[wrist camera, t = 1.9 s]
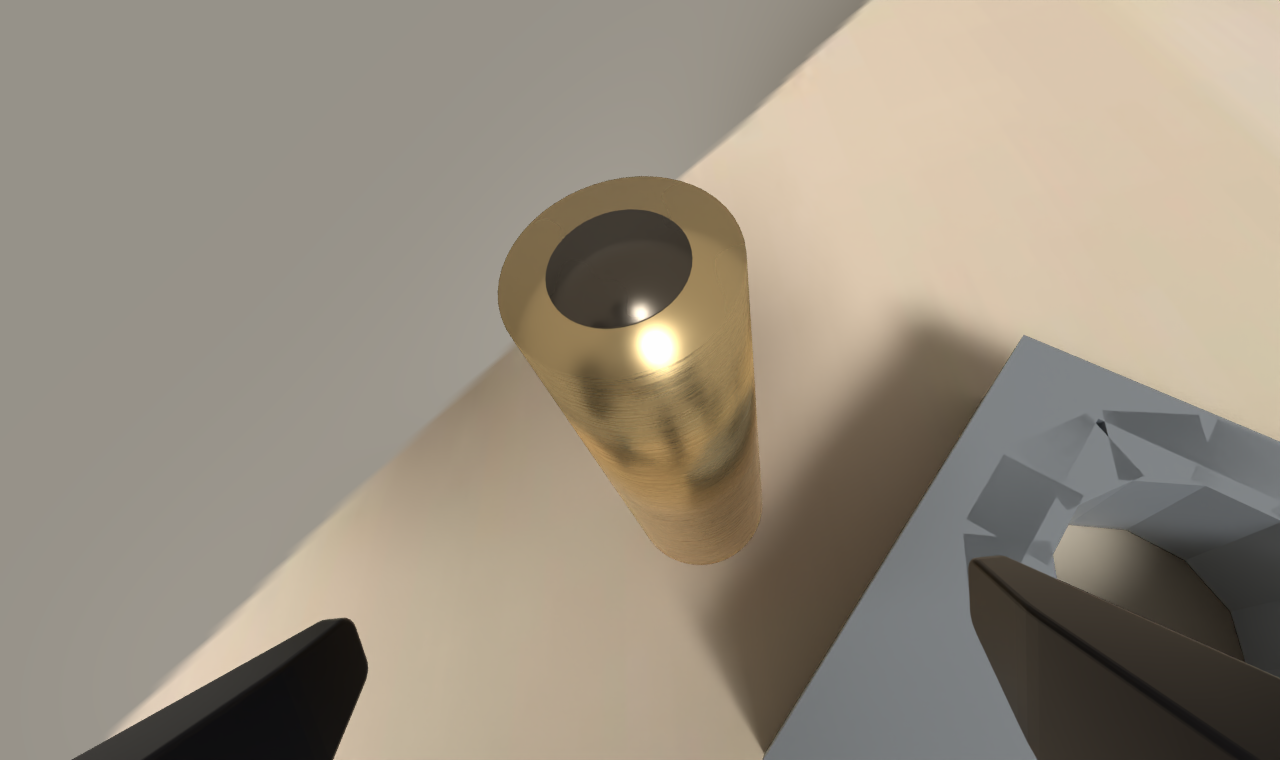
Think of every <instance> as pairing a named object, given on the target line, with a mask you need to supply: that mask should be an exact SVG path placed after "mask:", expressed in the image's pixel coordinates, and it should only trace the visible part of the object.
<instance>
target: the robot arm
mask: <svg viewBox="0 0 1280 760" xmlns="http://www.w3.org/2000/svg"><path fill="white" fill-rule="evenodd" d="M968 578H969V601H970V615H971V620H972V624H973V627H974V629H975V632H976V634H977V636H978V638H979V641H980V643H981V645H982V647H983V649H984V651H985V653H986V656H987V658H988V660H989V662H990V664H991V666H992V668H993V671H994V673H995V675H996V677H997V679H998V681H999V683H1000V686H1001V688H1002V690H1003V692H1004V694H1005V696H1006V699H1007V701H1008V703H1009V705H1010V707H1011V709H1012V711H1013V714H1014V716H1015V718H1016V720H1017V722H1018V724H1019V726H1020V728H1021V730H1022V732H1023V734H1024V736H1025V738H1026V740H1027V743H1028V744H1029V746H1030V748H1031V750H1032V751H1033V753H1034V755H1035V757H1036V759H1037V760H1280V678H1279V677H1277V676H1274V675H1272V674H1270V673H1268V672H1265V671H1263V670H1261V669H1259V668H1256V667H1254V666H1252V665H1250V664H1247V663H1245V662H1243V661H1241V660H1238V659H1236V658H1234V657H1232V656H1229V655H1227V654H1225V653H1223V652H1220V651H1218V650H1216V649H1214V648H1211V647H1209V646H1207V645H1205V644H1202V643H1200V642H1198V641H1196V640H1193V639H1191V638H1189V637H1187V636H1184V635H1182V634H1180V633H1178V632H1175V631H1173V630H1171V629H1169V628H1166V627H1164V626H1162V625H1160V624H1157V623H1155V622H1153V621H1151V620H1148V619H1146V618H1144V617H1142V616H1139V615H1137V614H1135V613H1133V612H1130V611H1128V610H1126V609H1124V608H1121V607H1119V606H1117V605H1115V604H1112V603H1110V602H1108V601H1106V600H1103V599H1101V598H1099V597H1097V596H1094V595H1092V594H1090V593H1088V592H1085V591H1083V590H1081V589H1079V588H1076V587H1074V586H1072V585H1070V584H1067V583H1065V582H1063V581H1061V580H1058V579H1056V578H1054V577H1052V576H1049V575H1047V574H1045V573H1043V572H1040V571H1038V570H1036V569H1034V568H1031V567H1029V566H1027V565H1025V564H1022V563H1020V562H1018V561H1016V560H1013V559H1011V558H1009V557H1006V556H1002V555H996V556H986V557H977V558H973V559H972V560H971V561H970V562H969V566H968ZM367 673H368V662H367V659H366V656H365V653H364V650H363V647H362V644H361V641H360V638H359V635H358V632H357V629H356V627H355V624H354V623H353V622H352V621H351V620H350V619H348V618H337V619H327V620H322V621H320V622H318V623H316V624H314V625H312V626H311V627H309V628H307V629H305V630H304V631H302V632H300V633H298V634H296V635H295V636H293V637H291V638H289V639H287V640H286V641H284V642H282V643H280V644H278V645H277V646H275V647H273V648H271V649H269V650H268V651H266V652H264V653H262V654H260V655H259V656H257V657H255V658H253V659H251V660H250V661H248V662H246V663H244V664H243V665H241V666H239V667H237V668H235V669H234V670H232V671H230V672H228V673H226V674H225V675H223V676H221V677H219V678H217V679H216V680H214V681H212V682H210V683H208V684H207V685H205V686H203V687H201V688H199V689H198V690H196V691H194V692H192V693H190V694H189V695H187V696H185V697H183V698H181V699H180V700H178V701H176V702H174V703H173V704H171V705H169V706H167V707H165V708H164V709H162V710H160V711H158V712H156V713H155V714H153V715H151V716H149V717H147V718H146V719H144V720H142V721H140V722H138V723H137V724H135V725H133V726H131V727H129V728H128V729H126V730H124V731H122V732H120V733H119V734H117V735H115V736H113V737H112V738H110V739H108V740H106V741H104V742H103V743H101V744H99V745H97V746H95V747H94V748H92V749H90V750H88V751H86V752H85V753H83V754H81V755H79V756H77V757H76V758H74V759H72V760H333V759H334V756H335V754H336V751H337V749H338V747H339V744H340V742H341V739H342V737H343V734H344V732H345V730H346V727H347V725H348V722H349V720H350V717H351V715H352V713H353V710H354V708H355V705H356V703H357V701H358V698H359V696H360V693H361V691H362V688H363V686H364V684H365V681H366V678H367Z"/></svg>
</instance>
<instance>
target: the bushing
mask: <svg viewBox="0 0 1280 760" xmlns="http://www.w3.org/2000/svg"><path fill="white" fill-rule="evenodd" d="M498 304H499V310H500V314H501V318H502V320H503V323H504V325H505V327H506V329H507V331H508V332H509V334H510V336H511V337H512V339H513V340H514V342H515V343H516V345H517V346H518V348H519V349H520V351H521V352H522V354H523V355H524V356H525V358H526V359H527V361H528V362H529V364H530V365H531V367H532V368H533V370H534V371H535V372H536V374H537V375H538V377H539V378H540V380H541V381H542V383H543V384H544V386H545V387H546V388H547V390H548V391H549V393H550V394H551V396H552V397H553V399H554V400H555V402H556V403H557V404H558V406H559V407H560V409H561V410H562V412H563V413H564V415H565V416H566V418H567V419H568V420H569V422H570V423H571V425H572V426H573V428H574V429H575V431H576V432H577V434H578V435H579V437H580V438H581V439H582V441H583V442H584V444H585V445H586V447H587V448H588V450H589V451H590V453H591V454H592V455H593V457H594V458H595V460H596V461H597V463H598V464H599V466H600V467H601V469H602V470H603V471H604V473H605V474H606V476H607V477H608V479H609V480H610V482H611V483H612V485H613V486H614V487H615V489H616V490H617V492H618V493H619V495H620V496H621V498H622V499H623V501H624V502H625V504H626V505H627V506H628V508H629V509H630V511H631V512H632V514H633V515H634V517H635V518H636V520H637V521H638V522H639V524H640V525H641V527H642V528H643V530H644V531H645V533H646V534H647V536H648V537H649V538H650V540H651V541H652V542H653V544H654V545H655V546H656V547H657V548H658V549H659V550H660V551H662V552H663V553H664V554H666V555H667V556H669V557H671V558H673V559H675V560H677V561H680V562H683V563H687V564H693V565H706V564H713V563H717V562H720V561H723V560H725V559H727V558H729V557H731V556H733V555H735V554H736V553H737V552H739V551H740V550H741V549H742V548H743V547H744V546H745V545H746V544H747V543H748V542H749V541H750V539H751V538H752V536H753V535H754V533H755V531H756V529H757V527H758V524H759V521H760V518H761V512H762V493H761V478H760V462H759V446H758V430H757V414H756V398H755V383H754V367H753V351H752V335H751V319H750V303H749V287H748V272H747V256H746V248H745V242H744V238H743V235H742V232H741V230H740V227H739V225H738V224H737V222H736V220H735V218H734V217H733V215H732V214H731V213H730V212H729V210H728V209H727V208H726V207H725V206H724V205H723V204H722V203H721V202H720V201H718V200H717V199H716V198H715V197H713V196H712V195H710V194H709V193H707V192H706V191H704V190H702V189H700V188H698V187H696V186H693V185H691V184H688V183H685V182H682V181H678V180H673V179H668V178H662V177H647V176H645V177H644V176H643V177H642V176H641V177H640V176H639V177H626V178H619V179H614V180H609V181H605V182H601V183H598V184H594V185H592V186H589V187H586V188H584V189H581V190H579V191H577V192H575V193H573V194H570V195H568V196H566V197H565V198H563V199H561V200H560V201H558V202H557V203H555V204H553V205H552V206H550V207H549V208H548V209H546V210H545V211H544V212H542V213H541V214H540V215H539V216H538V217H537V218H536V219H534V220H533V221H532V222H531V223H530V224H529V226H528V227H527V228H526V229H525V230H524V231H523V232H522V233H521V235H520V236H519V237H518V239H517V240H516V241H515V243H514V244H513V246H512V248H511V250H510V251H509V253H508V255H507V257H506V260H505V262H504V265H503V267H502V271H501V274H500V279H499V286H498Z"/></svg>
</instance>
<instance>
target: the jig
mask: <svg viewBox="0 0 1280 760" xmlns="http://www.w3.org/2000/svg"><path fill="white" fill-rule="evenodd" d="M1068 525H1077V526H1088V527H1100V528H1111V529H1123V530H1127V531H1129V532H1131V533H1133V534H1135V535H1137V536H1139V537H1141V538H1143V539H1145V540H1147V541H1148V542H1150V543H1152V544H1154V545H1156V546H1158V547H1160V548H1162V549H1164V550H1166V551H1168V552H1170V553H1172V554H1174V555H1175V556H1177V557H1179V558H1181V559H1183V560H1185V561H1186V562H1187V563H1188V564H1189V566H1190V567H1191V568H1192V569H1193V570H1194V571H1195V572H1196V573H1197V575H1198V576H1199V577H1200V578H1201V579H1202V580H1203V581H1204V582H1205V584H1206V585H1207V586H1208V587H1209V588H1210V589H1211V590H1212V591H1213V593H1214V594H1215V595H1216V596H1217V597H1218V598H1219V599H1220V600H1221V602H1222V603H1223V604H1224V605H1225V606H1226V607H1227V608H1228V609H1229V611H1230V612H1231V615H1232V618H1233V622H1234V625H1235V628H1236V632H1237V635H1238V639H1239V642H1240V645H1241V649H1242V652H1243V656H1244V659H1245V663H1247V664H1250V665H1252V666H1254V667H1256V668H1259V669H1261V670H1263V671H1265V672H1268V673H1270V674H1272V675H1274V676H1277V677H1279V678H1280V442H1279V441H1277V440H1274V439H1272V438H1270V437H1267V436H1265V435H1262V434H1260V433H1258V432H1255V431H1253V430H1250V429H1248V428H1246V427H1243V426H1241V425H1238V424H1236V423H1234V422H1231V421H1229V420H1227V419H1224V418H1222V417H1219V416H1217V415H1215V414H1212V413H1210V412H1207V411H1205V410H1203V409H1200V408H1198V407H1195V406H1193V405H1191V404H1188V403H1186V402H1183V401H1181V400H1179V399H1176V398H1174V397H1171V396H1169V395H1167V394H1164V393H1162V392H1159V391H1157V390H1155V389H1152V388H1150V387H1147V386H1145V385H1143V384H1140V383H1138V382H1135V381H1133V380H1131V379H1128V378H1126V377H1124V376H1121V375H1119V374H1116V373H1114V372H1112V371H1109V370H1107V369H1104V368H1102V367H1100V366H1097V365H1095V364H1092V363H1090V362H1088V361H1085V360H1083V359H1080V358H1078V357H1076V356H1073V355H1071V354H1068V353H1066V352H1064V351H1061V350H1059V349H1056V348H1054V347H1052V346H1049V345H1047V344H1044V343H1042V342H1040V341H1037V340H1035V339H1032V338H1030V337H1028V336H1025V335H1023V337H1022V338H1021V340H1020V342H1019V343H1018V345H1017V346H1016V348H1015V349H1014V351H1013V353H1012V354H1011V356H1010V357H1009V359H1008V360H1007V362H1006V364H1005V365H1004V367H1003V368H1002V370H1001V371H1000V373H999V374H998V376H997V378H996V379H995V381H994V382H993V384H992V385H991V387H990V389H989V390H988V392H987V393H986V395H985V396H984V398H983V400H982V401H981V403H980V404H979V406H978V408H977V409H976V411H975V413H974V414H973V416H972V418H971V419H970V421H969V422H968V424H967V426H966V427H965V429H964V431H963V432H962V434H961V435H960V437H959V439H958V440H957V442H956V444H955V445H954V447H953V448H952V450H951V452H950V453H949V455H948V457H947V458H946V460H945V461H944V463H943V465H942V466H941V468H940V470H939V471H938V473H937V474H936V476H935V478H934V479H933V481H932V483H931V484H930V486H929V487H928V489H927V491H926V492H925V494H924V496H923V497H922V499H921V500H920V502H919V504H918V505H917V507H916V509H915V510H914V512H913V514H912V515H911V517H910V518H909V520H908V522H907V523H906V525H905V527H904V528H903V530H902V531H901V533H900V535H899V536H898V538H897V540H896V541H895V543H894V544H893V546H892V548H891V549H890V551H889V553H888V554H887V556H886V557H885V559H884V561H883V562H882V564H881V566H880V567H879V569H878V570H877V572H876V574H875V575H874V577H873V579H872V580H871V582H870V583H869V585H868V587H867V588H866V590H865V592H864V593H863V595H862V596H861V598H860V600H859V601H858V603H857V605H856V606H855V608H854V609H853V611H852V613H851V614H850V616H849V618H848V619H847V621H846V623H845V624H844V626H843V627H842V629H841V631H840V632H839V634H838V636H837V637H836V639H835V640H834V642H833V644H832V645H831V647H830V649H829V650H828V652H827V653H826V655H825V657H824V658H823V660H822V662H821V663H820V665H819V666H818V668H817V670H816V671H815V673H814V675H813V676H812V678H811V679H810V681H809V683H808V684H807V686H806V688H805V689H804V691H803V692H802V694H801V696H800V697H799V699H798V701H797V702H796V704H795V705H794V707H793V709H792V710H791V712H790V714H789V715H788V717H787V719H786V720H785V722H784V723H783V725H782V727H781V728H780V730H779V732H778V733H777V735H776V736H775V738H774V740H773V741H772V743H771V745H770V746H769V748H768V749H767V751H766V753H765V754H764V757H763V760H1037V759H1036V757H1035V755H1034V753H1033V751H1032V750H1031V748H1030V746H1029V744H1028V743H1027V740H1026V738H1025V736H1024V734H1023V732H1022V730H1021V728H1020V726H1019V724H1018V722H1017V720H1016V718H1015V716H1014V714H1013V711H1012V709H1011V707H1010V705H1009V703H1008V701H1007V699H1006V696H1005V694H1004V692H1003V690H1002V688H1001V686H1000V683H999V681H998V679H997V677H996V675H995V673H994V671H993V668H992V666H991V664H990V662H989V660H988V658H987V656H986V653H985V651H984V649H983V647H982V645H981V643H980V641H979V638H978V636H977V634H976V632H975V629H974V627H973V624H972V620H971V615H970V601H969V578H968V566H969V562H970V561H971V560H972V559H973V558H977V557H986V556H996V555H1002V556H1006V557H1009V558H1011V559H1013V560H1016V561H1018V562H1020V563H1022V564H1025V565H1027V566H1029V567H1031V568H1034V569H1036V570H1038V571H1040V572H1043V573H1045V574H1047V575H1049V576H1052V577H1054V578H1056V579H1057V576H1056V570H1055V564H1054V558H1053V553H1054V551H1055V549H1056V548H1057V546H1058V544H1059V542H1060V540H1061V538H1062V536H1063V534H1064V532H1065V530H1066V528H1067V526H1068Z"/></svg>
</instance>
